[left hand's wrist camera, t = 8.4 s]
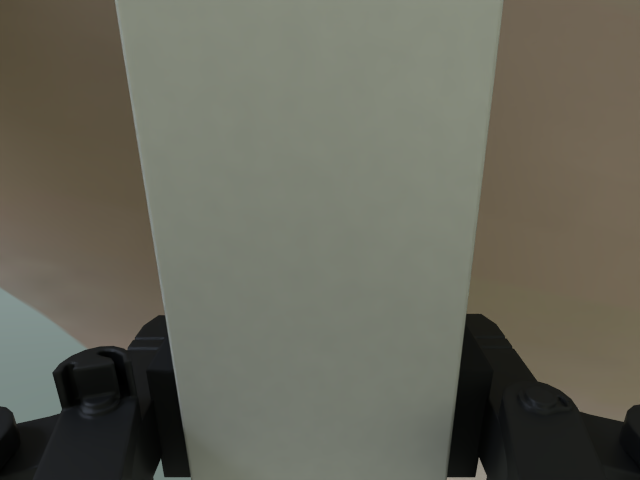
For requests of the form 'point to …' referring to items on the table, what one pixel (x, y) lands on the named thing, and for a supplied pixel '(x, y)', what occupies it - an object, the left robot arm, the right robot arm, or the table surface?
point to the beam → (313, 223)
